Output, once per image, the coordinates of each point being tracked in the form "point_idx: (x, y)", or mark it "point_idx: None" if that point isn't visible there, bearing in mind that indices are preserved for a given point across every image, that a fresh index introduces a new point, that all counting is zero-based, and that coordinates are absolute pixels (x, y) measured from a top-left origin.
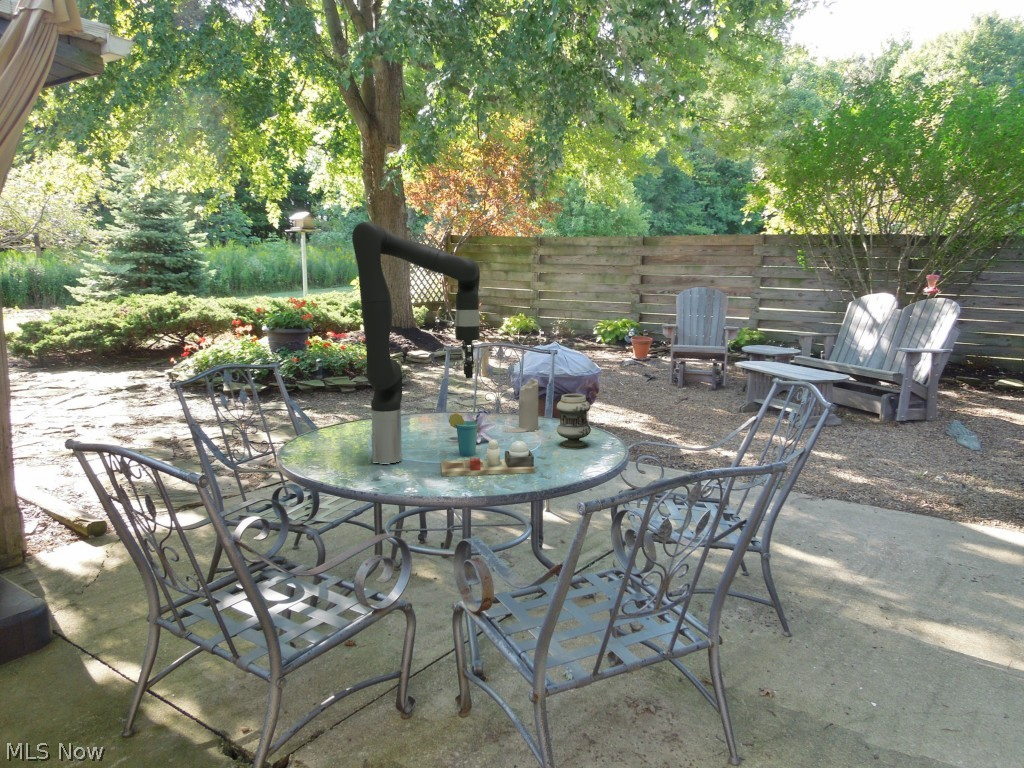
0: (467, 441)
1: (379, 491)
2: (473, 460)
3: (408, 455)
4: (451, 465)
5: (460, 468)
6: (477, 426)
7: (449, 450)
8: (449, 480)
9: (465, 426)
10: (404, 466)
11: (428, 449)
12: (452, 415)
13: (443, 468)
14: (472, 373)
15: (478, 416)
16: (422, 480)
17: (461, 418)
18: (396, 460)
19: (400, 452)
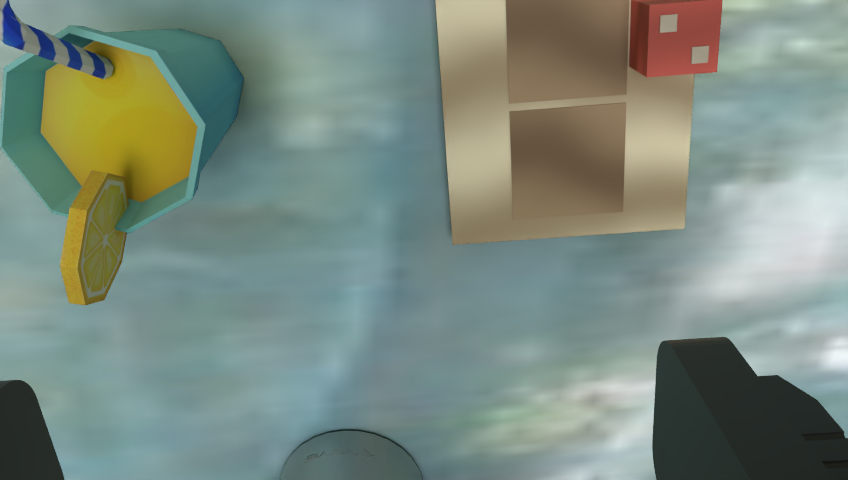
0: (223, 102)
1: None
2: (708, 50)
3: (235, 408)
4: (565, 181)
5: (633, 125)
6: (110, 34)
7: None
8: (751, 176)
9: (201, 147)
10: (451, 408)
11: (94, 320)
12: (86, 288)
13: (615, 223)
14: (769, 400)
15: (44, 34)
16: (718, 309)
17: (97, 199)
18: (401, 458)
19: (368, 467)
